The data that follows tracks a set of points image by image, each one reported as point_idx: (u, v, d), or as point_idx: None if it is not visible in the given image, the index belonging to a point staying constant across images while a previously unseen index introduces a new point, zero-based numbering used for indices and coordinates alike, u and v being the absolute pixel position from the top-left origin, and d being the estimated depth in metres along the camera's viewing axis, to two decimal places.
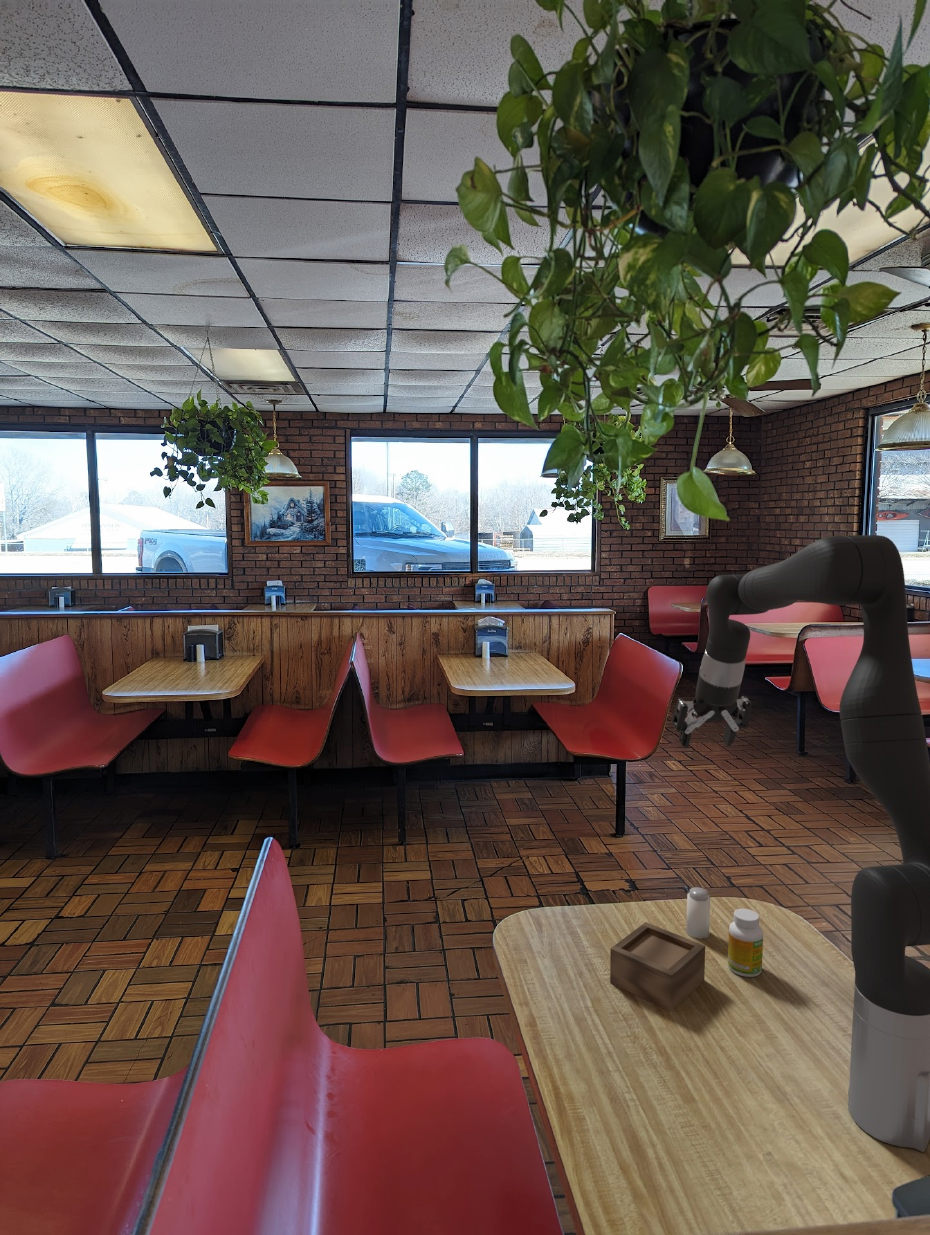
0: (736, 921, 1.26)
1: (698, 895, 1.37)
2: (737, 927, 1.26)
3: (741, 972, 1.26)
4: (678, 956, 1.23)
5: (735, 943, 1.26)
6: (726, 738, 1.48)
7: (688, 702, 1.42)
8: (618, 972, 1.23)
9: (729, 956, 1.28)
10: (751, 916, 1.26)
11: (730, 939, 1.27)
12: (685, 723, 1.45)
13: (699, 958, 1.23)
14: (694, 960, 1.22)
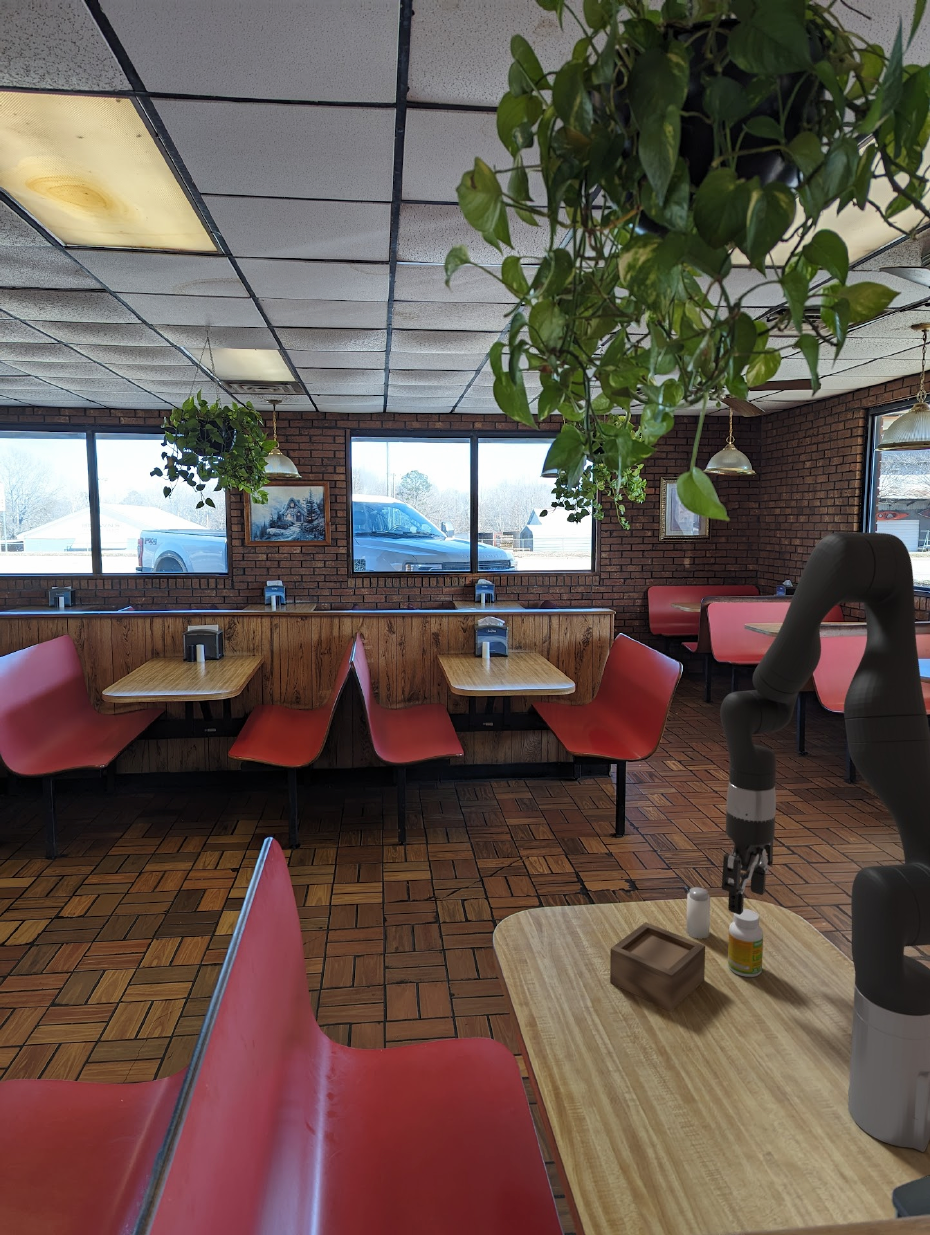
0: (736, 921, 1.26)
1: (698, 895, 1.37)
2: (737, 927, 1.26)
3: (741, 972, 1.26)
4: (678, 956, 1.23)
5: (735, 943, 1.26)
6: (757, 886, 1.29)
7: (735, 854, 1.22)
8: (618, 972, 1.23)
9: (729, 956, 1.28)
10: (751, 916, 1.26)
11: (730, 939, 1.27)
12: (733, 883, 1.23)
13: (699, 958, 1.23)
14: (694, 960, 1.22)
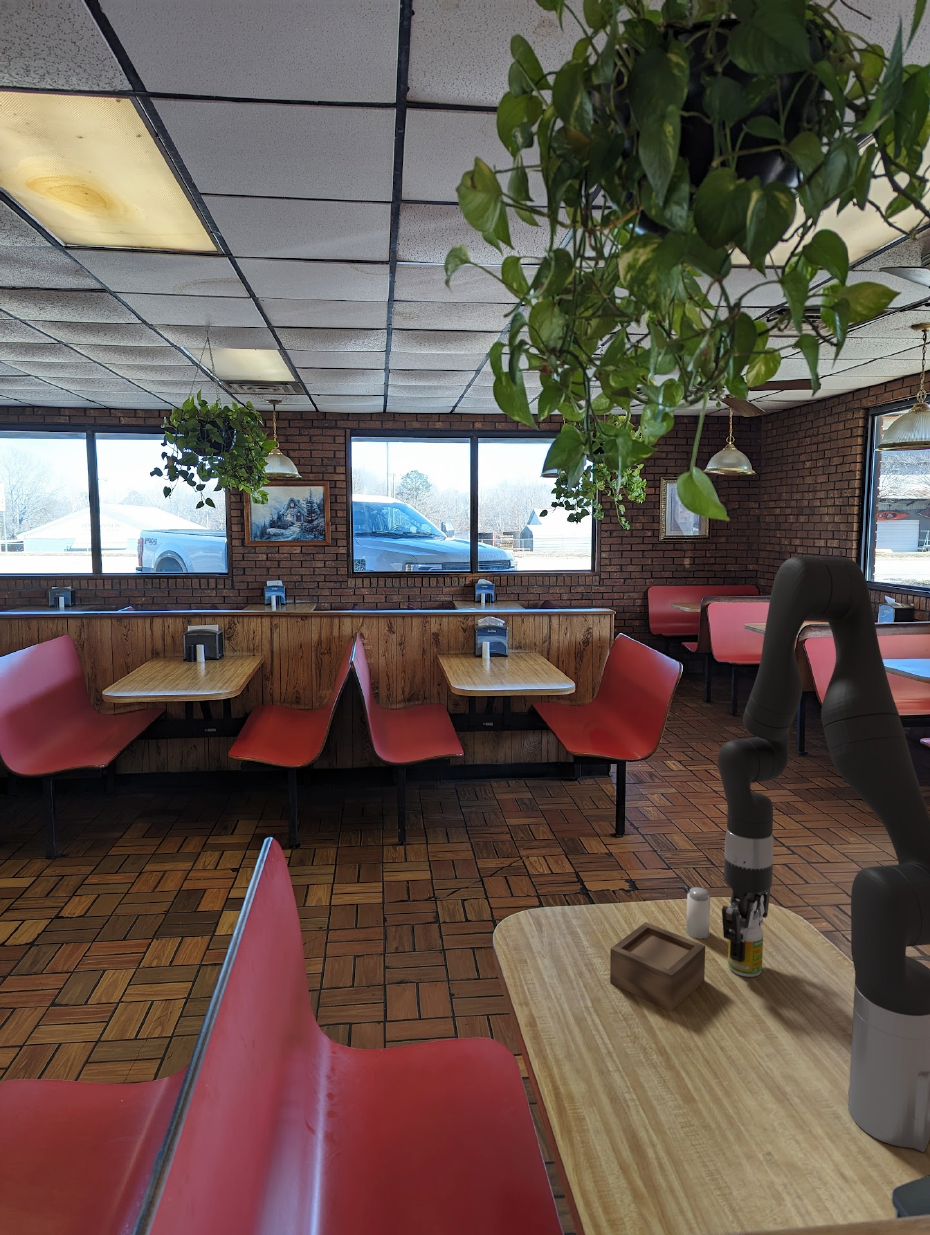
0: None
1: (698, 895, 1.37)
2: None
3: (741, 972, 1.26)
4: (678, 956, 1.23)
5: None
6: None
7: (733, 905, 1.23)
8: (618, 972, 1.23)
9: (729, 956, 1.28)
10: None
11: None
12: (734, 931, 1.25)
13: (699, 958, 1.23)
14: (694, 960, 1.22)
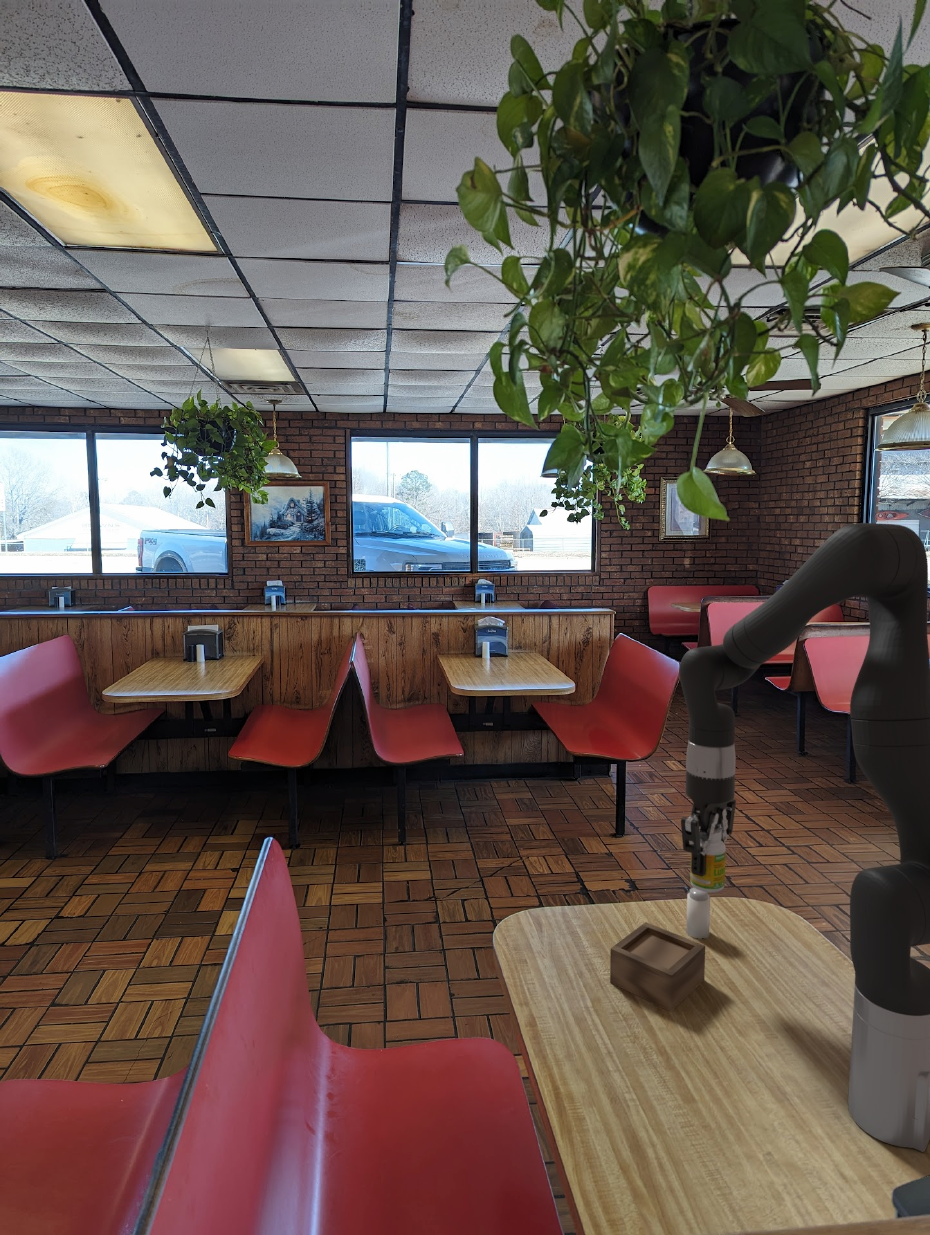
0: None
1: (698, 895, 1.37)
2: None
3: (702, 887, 1.23)
4: (678, 956, 1.23)
5: None
6: None
7: (692, 816, 1.20)
8: (618, 972, 1.23)
9: (691, 872, 1.25)
10: None
11: None
12: None
13: (699, 958, 1.23)
14: (694, 960, 1.22)
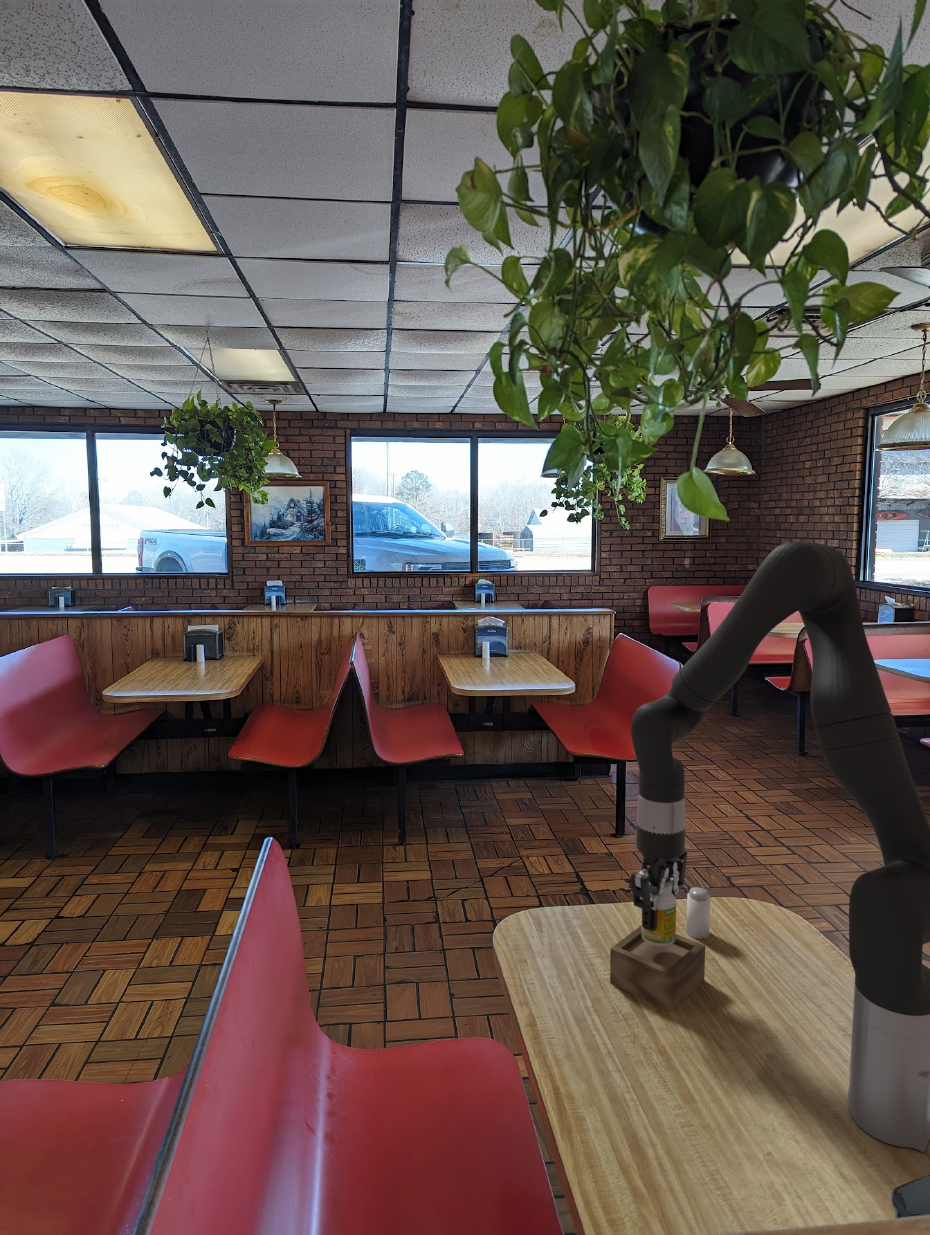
0: None
1: (698, 895, 1.37)
2: None
3: (653, 941, 1.22)
4: (678, 956, 1.23)
5: None
6: None
7: (642, 872, 1.19)
8: (618, 972, 1.23)
9: None
10: None
11: None
12: None
13: (699, 958, 1.23)
14: (694, 960, 1.22)
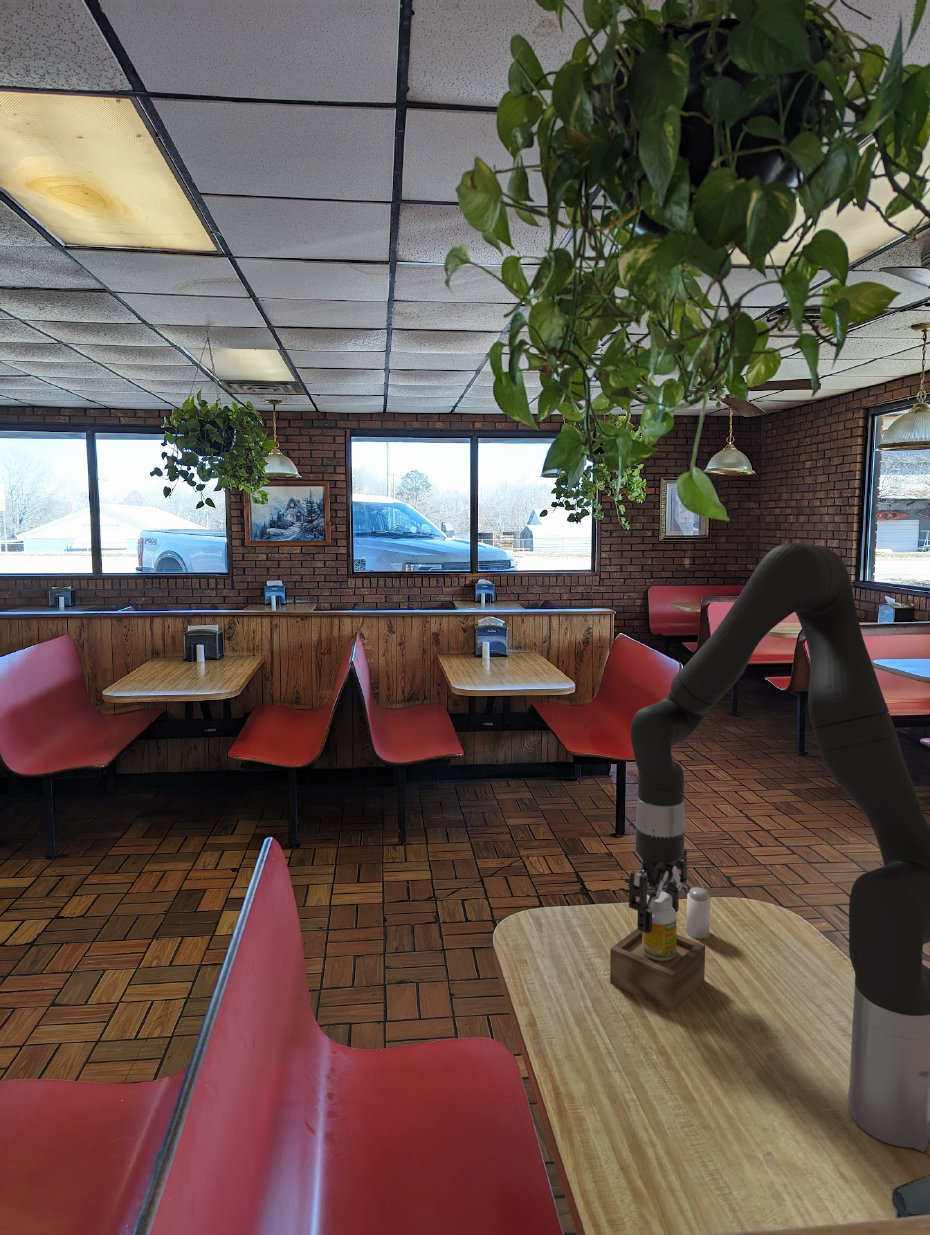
0: None
1: (698, 895, 1.37)
2: None
3: (654, 956, 1.22)
4: (678, 956, 1.23)
5: None
6: None
7: (642, 872, 1.19)
8: (618, 972, 1.23)
9: (643, 940, 1.24)
10: (664, 899, 1.22)
11: None
12: None
13: (699, 958, 1.23)
14: (694, 960, 1.22)
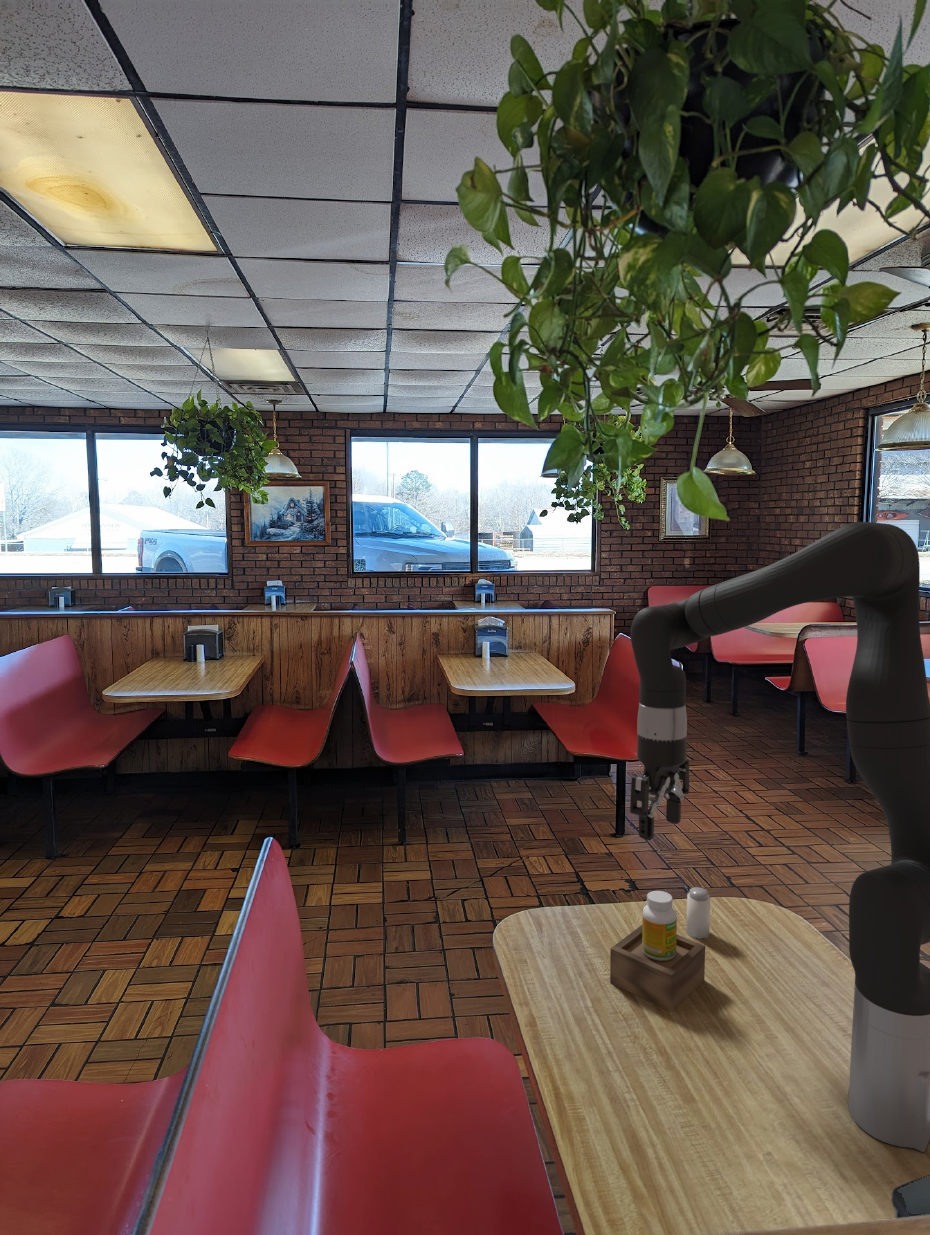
0: (649, 903, 1.23)
1: (698, 895, 1.37)
2: (650, 909, 1.23)
3: (654, 956, 1.22)
4: (678, 956, 1.23)
5: (647, 926, 1.22)
6: (672, 814, 1.24)
7: (643, 776, 1.17)
8: (618, 972, 1.23)
9: (643, 940, 1.24)
10: (664, 898, 1.22)
11: (643, 922, 1.23)
12: None
13: (699, 958, 1.23)
14: (694, 960, 1.22)
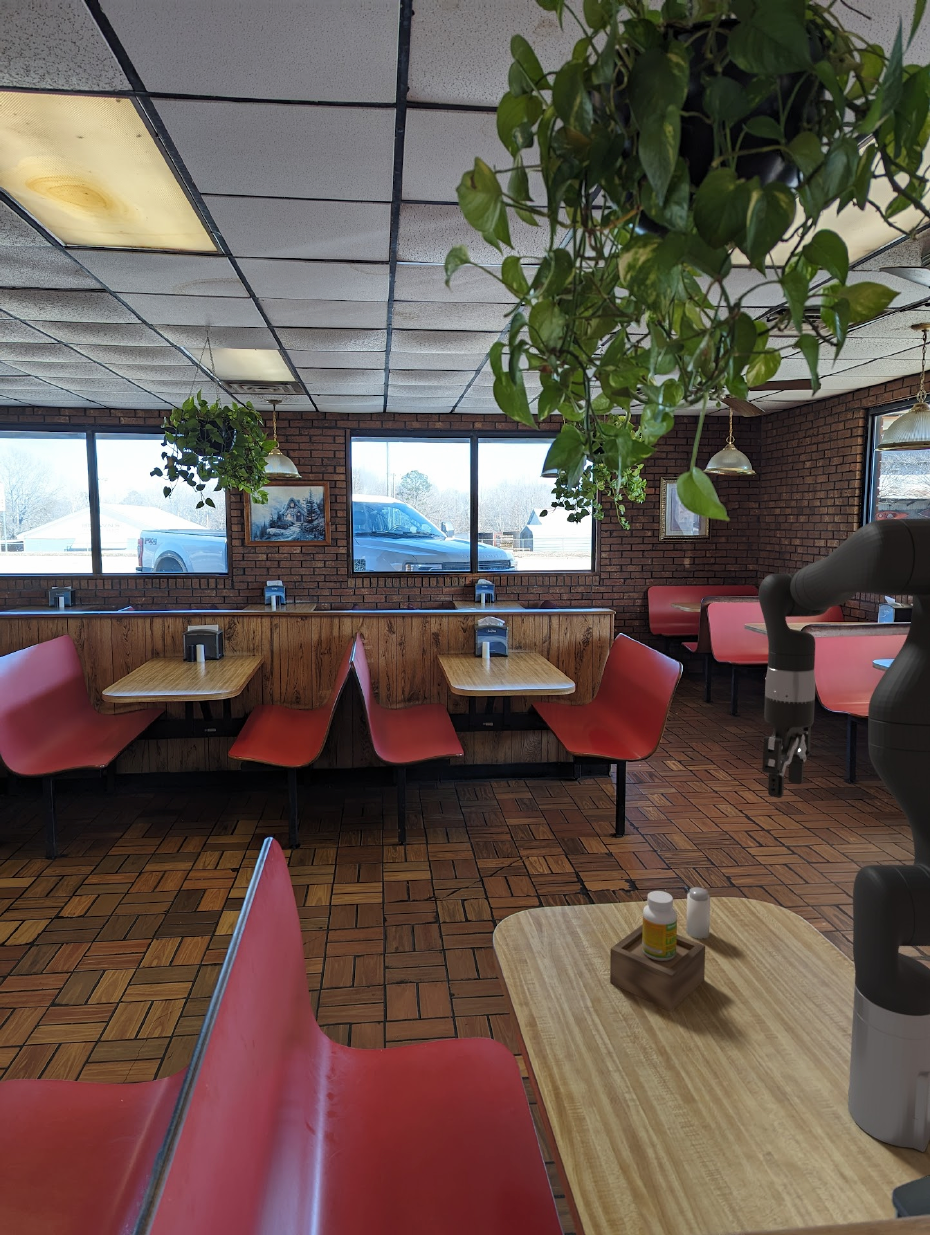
0: (649, 904, 1.23)
1: (698, 895, 1.37)
2: (651, 909, 1.23)
3: (654, 956, 1.22)
4: (678, 956, 1.23)
5: (648, 926, 1.22)
6: (795, 775, 1.30)
7: (775, 736, 1.22)
8: (618, 972, 1.23)
9: (643, 940, 1.24)
10: (665, 899, 1.22)
11: (644, 922, 1.23)
12: None
13: (699, 958, 1.23)
14: (694, 960, 1.22)
